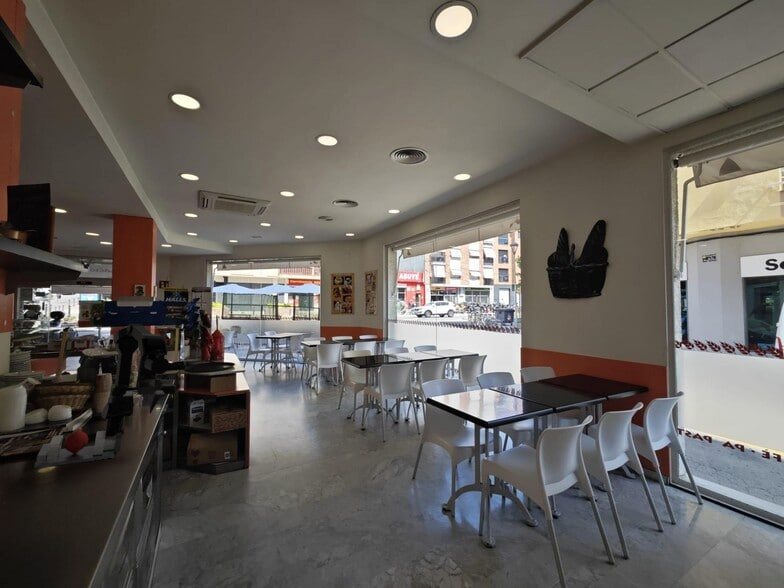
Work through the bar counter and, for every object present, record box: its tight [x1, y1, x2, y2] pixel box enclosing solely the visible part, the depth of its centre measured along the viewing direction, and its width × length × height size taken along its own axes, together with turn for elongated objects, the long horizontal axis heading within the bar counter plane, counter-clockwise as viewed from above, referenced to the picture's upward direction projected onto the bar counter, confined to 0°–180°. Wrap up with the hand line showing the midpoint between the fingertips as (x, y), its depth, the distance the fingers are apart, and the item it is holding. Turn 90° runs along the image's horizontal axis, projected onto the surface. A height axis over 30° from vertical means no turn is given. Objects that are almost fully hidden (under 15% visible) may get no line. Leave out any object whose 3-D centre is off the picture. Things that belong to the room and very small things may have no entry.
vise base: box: [33, 434, 116, 469], centre depth 116 cm, size 12×19×6 cm, turn 128°
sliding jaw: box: [93, 430, 123, 455], centre depth 120 cm, size 9×7×5 cm
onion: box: [63, 427, 89, 453], centre depth 115 cm, size 6×6×8 cm
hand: (141, 413), depth 126 cm, fingers open, 5 cm apart
